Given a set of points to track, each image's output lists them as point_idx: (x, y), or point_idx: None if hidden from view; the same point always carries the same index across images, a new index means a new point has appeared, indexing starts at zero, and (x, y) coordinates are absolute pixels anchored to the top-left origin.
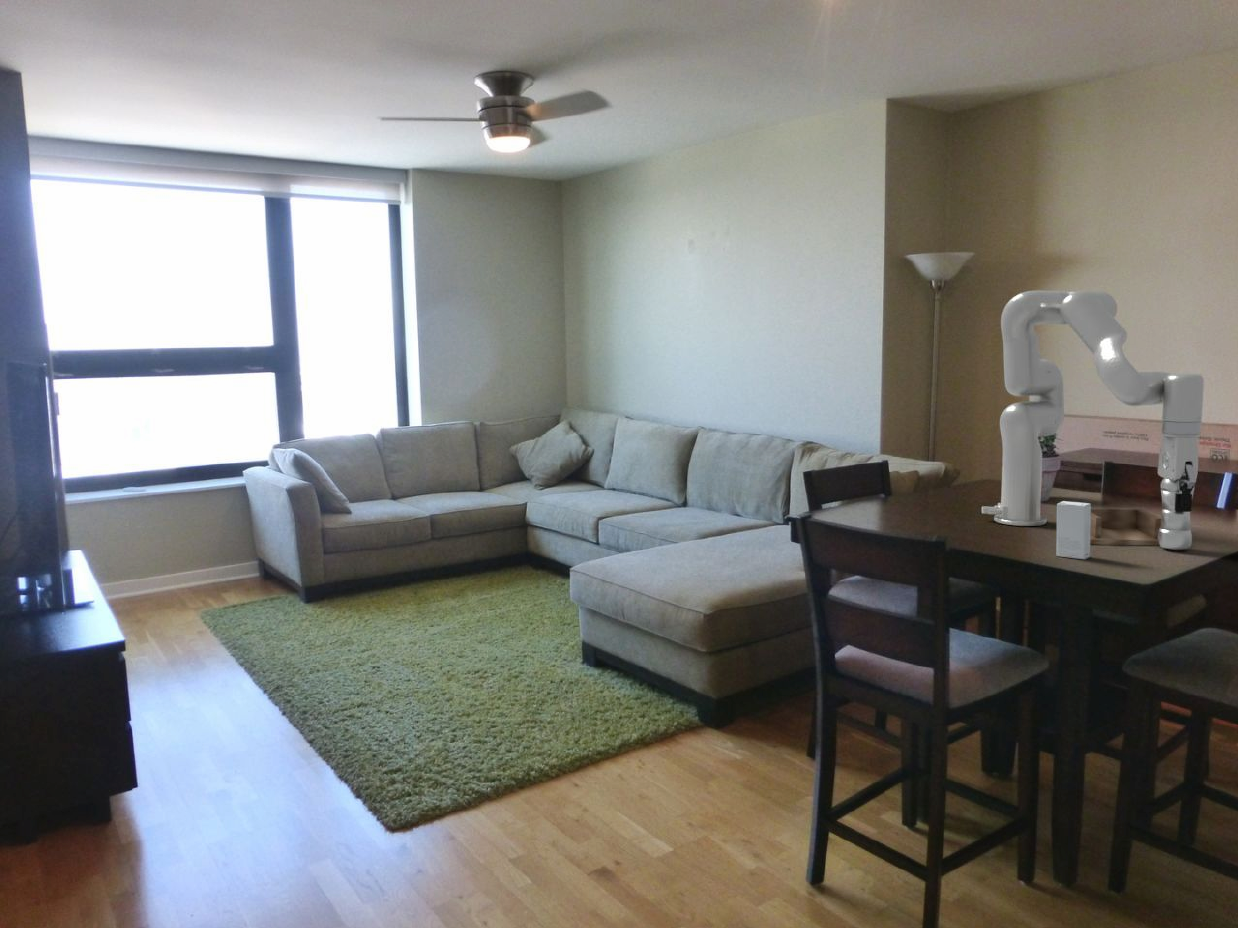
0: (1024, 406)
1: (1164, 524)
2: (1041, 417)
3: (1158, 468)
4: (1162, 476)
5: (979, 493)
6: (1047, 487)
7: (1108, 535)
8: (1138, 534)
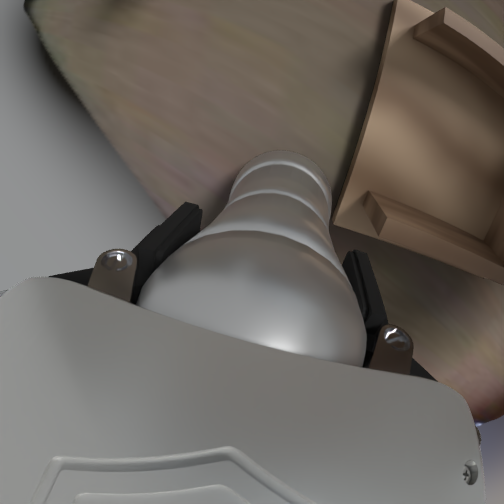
0: None
1: (270, 170)
2: None
3: (464, 442)
4: (332, 363)
5: None
6: None
7: (444, 91)
8: (434, 192)
